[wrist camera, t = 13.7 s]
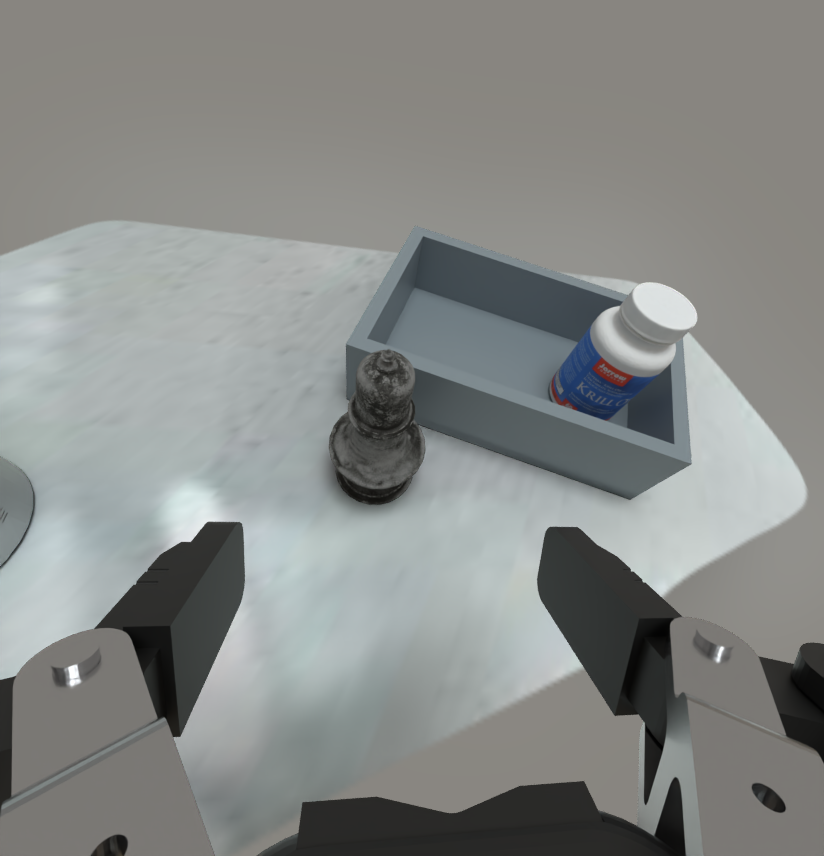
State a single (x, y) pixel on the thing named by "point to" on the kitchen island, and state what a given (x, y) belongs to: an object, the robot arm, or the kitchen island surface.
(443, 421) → the tote
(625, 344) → the pill bottle
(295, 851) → the robot arm
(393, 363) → the grey stone chess piece
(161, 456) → the kitchen island surface
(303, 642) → the kitchen island surface
